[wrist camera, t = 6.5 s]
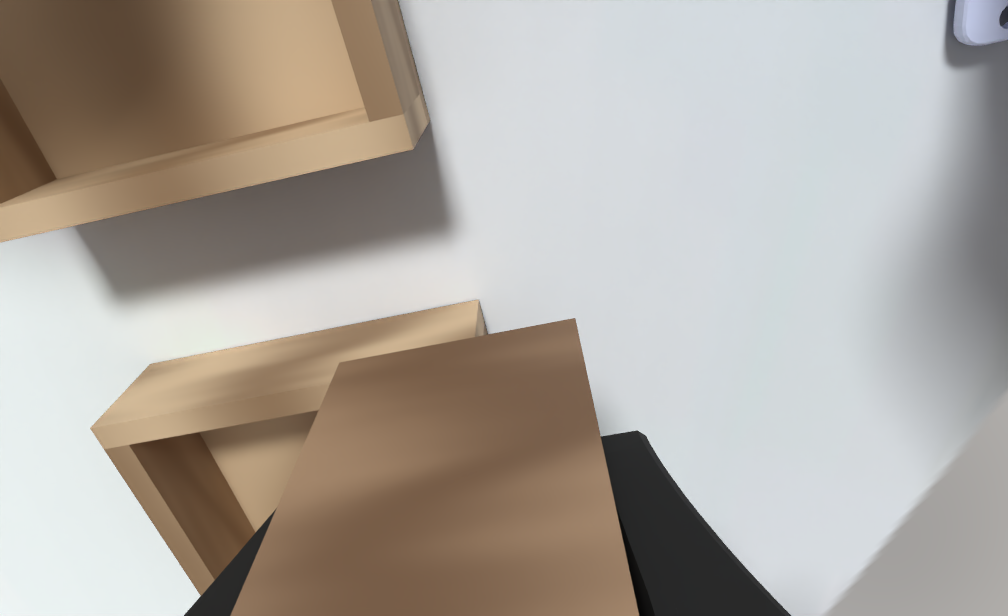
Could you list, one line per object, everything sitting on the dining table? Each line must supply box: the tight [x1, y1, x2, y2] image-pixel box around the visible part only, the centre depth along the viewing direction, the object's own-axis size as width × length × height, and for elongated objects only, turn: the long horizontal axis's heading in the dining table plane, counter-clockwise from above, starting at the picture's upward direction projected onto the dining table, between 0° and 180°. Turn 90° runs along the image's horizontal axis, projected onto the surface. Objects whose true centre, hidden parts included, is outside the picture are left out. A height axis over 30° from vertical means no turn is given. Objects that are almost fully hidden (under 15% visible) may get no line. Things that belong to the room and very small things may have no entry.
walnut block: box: [230, 318, 639, 616], centre depth 9 cm, size 4×4×6 cm
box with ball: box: [90, 300, 488, 595], centre depth 19 cm, size 10×10×3 cm
